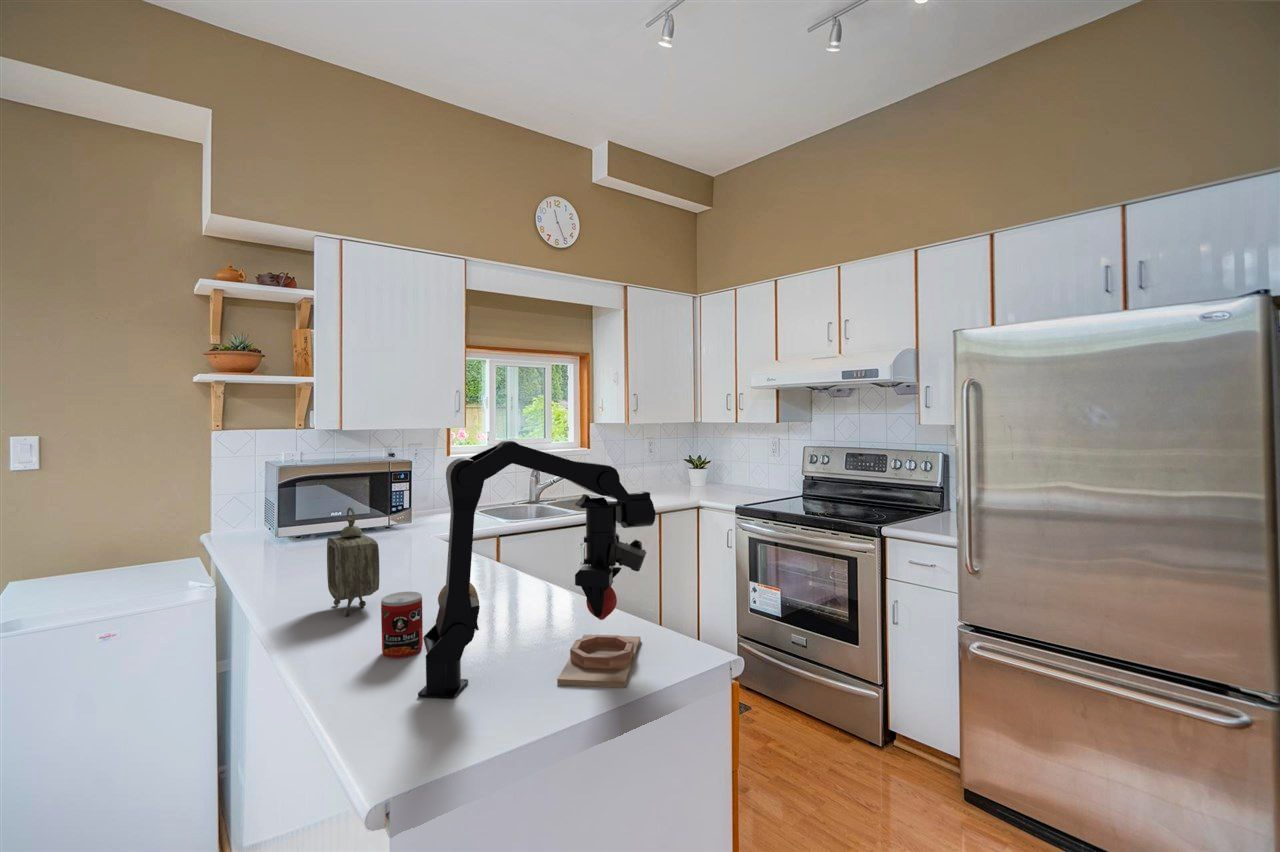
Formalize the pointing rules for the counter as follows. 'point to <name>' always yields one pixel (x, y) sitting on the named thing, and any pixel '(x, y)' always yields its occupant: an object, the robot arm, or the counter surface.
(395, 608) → the canned food
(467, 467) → the robot arm
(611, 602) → the onion
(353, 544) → the tabletop clock
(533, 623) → the counter surface
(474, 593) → the natural sponge
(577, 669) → the onion holder
